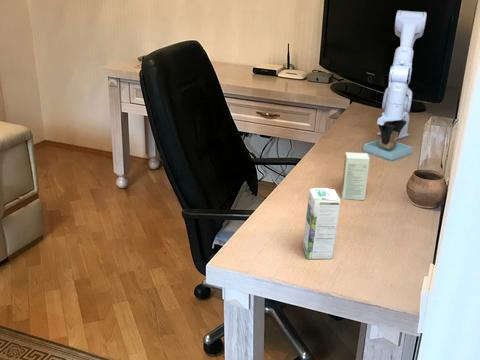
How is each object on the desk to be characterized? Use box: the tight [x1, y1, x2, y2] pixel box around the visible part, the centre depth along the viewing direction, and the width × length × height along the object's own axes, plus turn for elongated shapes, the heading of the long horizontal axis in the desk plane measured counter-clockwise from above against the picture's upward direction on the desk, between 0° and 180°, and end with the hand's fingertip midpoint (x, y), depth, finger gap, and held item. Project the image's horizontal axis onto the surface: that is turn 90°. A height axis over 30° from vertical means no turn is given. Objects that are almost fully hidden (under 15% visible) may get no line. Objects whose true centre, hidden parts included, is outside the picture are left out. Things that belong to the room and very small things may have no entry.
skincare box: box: [340, 151, 371, 201], centre depth 142 cm, size 6×4×12 cm
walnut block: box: [379, 131, 398, 149], centre depth 176 cm, size 4×4×5 cm
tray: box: [362, 138, 414, 162], centre depth 178 cm, size 12×12×2 cm
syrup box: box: [302, 187, 341, 260], centre depth 114 cm, size 6×6×14 cm
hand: (389, 141), depth 176 cm, fingers closed on walnut block, 4 cm apart
